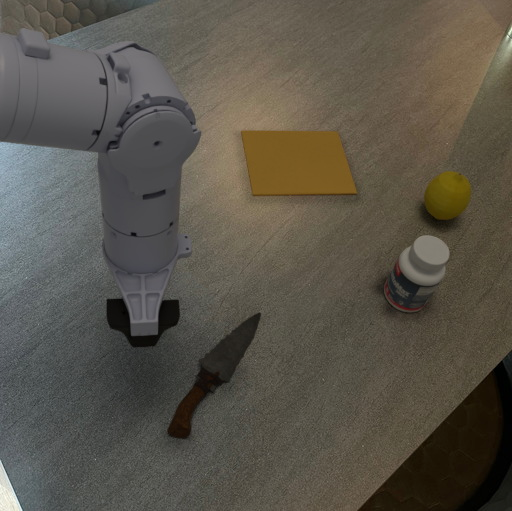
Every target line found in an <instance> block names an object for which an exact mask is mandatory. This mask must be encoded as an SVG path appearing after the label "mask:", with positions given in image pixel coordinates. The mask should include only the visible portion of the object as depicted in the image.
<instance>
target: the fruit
mask: <svg viewBox="0 0 512 511" xmlns="http://www.w3.org/2000/svg"><path fill="white" fill-rule="evenodd" d="M424 190H425V191H424V193H423V194H424V195H423V202H424V207H425V209H426V210H427V213H429V214H430V215H431V216H432V217H433V218H435V219H436V220H439V221H441V220H443V221H449V220H451V219H455V218H457V217H459V216H460V215H462V213H464V212H465V211H466V210H467V208H468V207H469V204H470V201H471V197H472V186H471V183H470V181H469V179H468V178H467V177H466V176H465V175H463V174H462V173H460V172H457V171H454V170H447V171H442V172H441V173H439V174H438V175H437V176H435V177H433V178H432V179H431V180H430V181H429V182H428V184H427V186H426V188H425V189H424Z"/></svg>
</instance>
